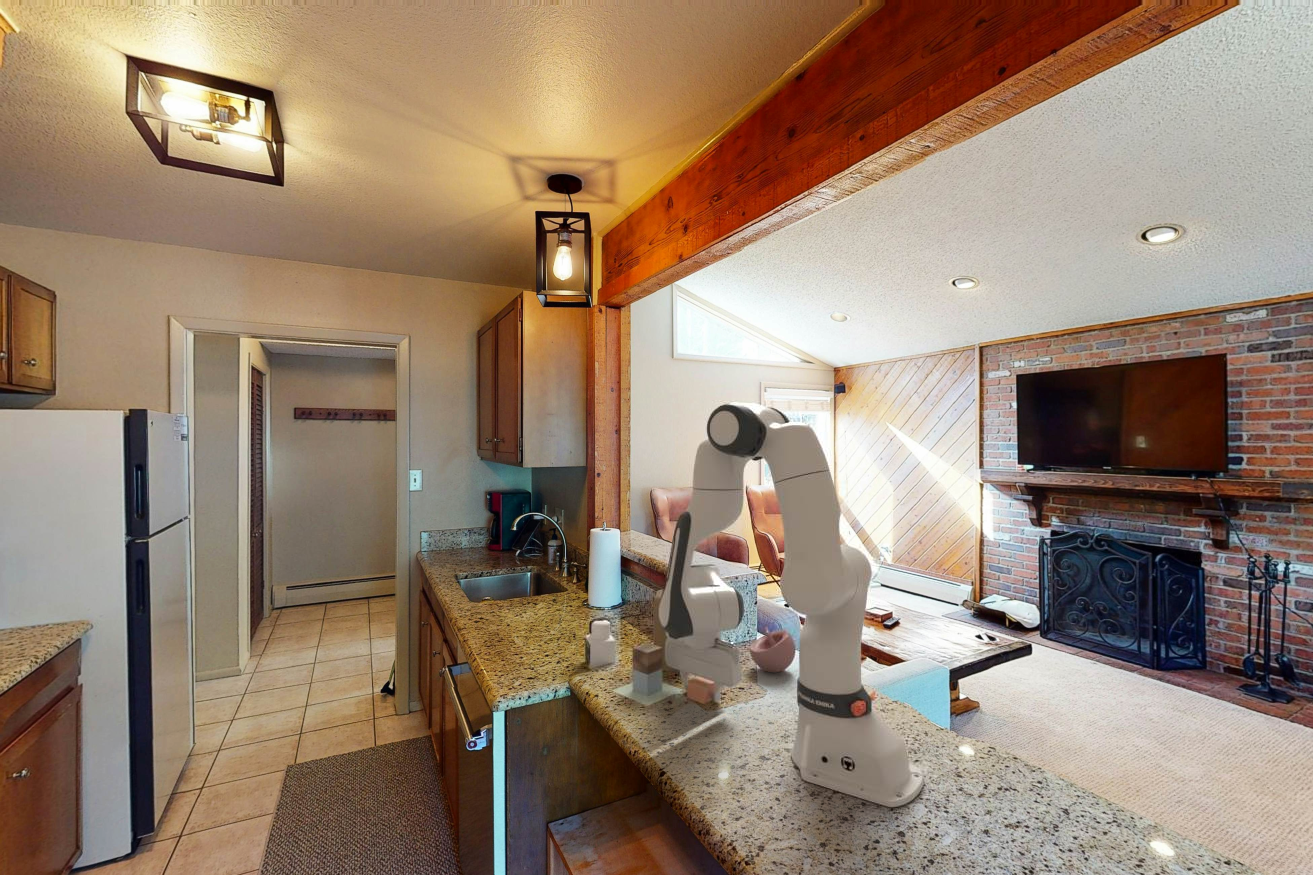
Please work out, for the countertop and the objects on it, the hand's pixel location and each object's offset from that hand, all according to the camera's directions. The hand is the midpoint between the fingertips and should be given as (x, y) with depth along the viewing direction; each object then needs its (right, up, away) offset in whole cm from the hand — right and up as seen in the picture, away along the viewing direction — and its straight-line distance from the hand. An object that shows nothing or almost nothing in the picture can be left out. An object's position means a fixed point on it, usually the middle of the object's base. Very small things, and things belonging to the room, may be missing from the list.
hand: (701, 694), depth 128 cm
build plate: (-13, -2, +4) cm, 13 cm away
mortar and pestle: (+20, -3, +19) cm, 28 cm away
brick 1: (-13, +4, +4) cm, 14 cm away
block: (-6, -3, +21) cm, 22 cm away
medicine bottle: (-26, -3, +25) cm, 36 cm away
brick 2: (-13, -1, +4) cm, 13 cm away
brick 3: (0, -2, 0) cm, 2 cm away
